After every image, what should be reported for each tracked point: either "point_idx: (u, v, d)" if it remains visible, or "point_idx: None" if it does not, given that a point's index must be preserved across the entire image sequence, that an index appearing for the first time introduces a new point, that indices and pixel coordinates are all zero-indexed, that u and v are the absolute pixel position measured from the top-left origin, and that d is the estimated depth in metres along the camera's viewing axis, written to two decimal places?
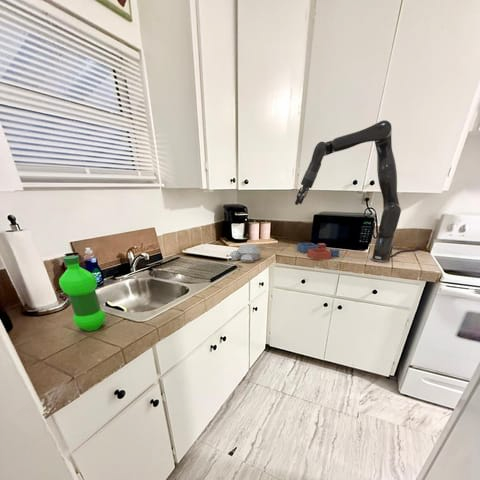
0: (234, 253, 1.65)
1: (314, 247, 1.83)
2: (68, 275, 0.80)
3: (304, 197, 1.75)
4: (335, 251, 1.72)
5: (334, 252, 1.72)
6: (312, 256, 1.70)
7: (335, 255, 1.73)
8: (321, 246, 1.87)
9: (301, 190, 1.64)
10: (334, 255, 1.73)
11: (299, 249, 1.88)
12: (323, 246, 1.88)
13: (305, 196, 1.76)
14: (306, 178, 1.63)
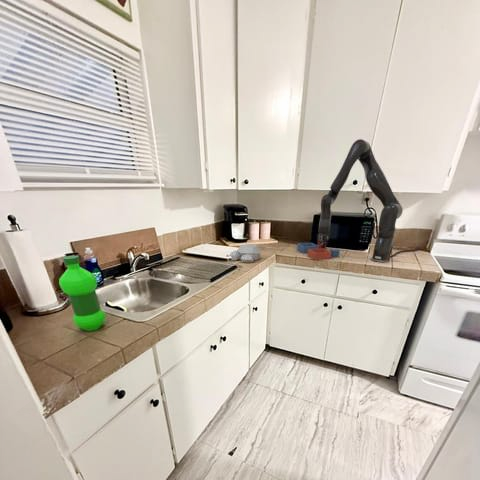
0: (234, 253, 1.65)
1: (314, 247, 1.83)
2: (68, 275, 0.80)
3: (321, 242, 1.91)
4: (335, 251, 1.72)
5: (334, 252, 1.72)
6: (312, 256, 1.70)
7: (335, 255, 1.73)
8: (321, 246, 1.87)
9: (327, 239, 1.81)
10: (334, 255, 1.73)
11: (299, 249, 1.88)
12: None
13: (320, 241, 1.92)
14: (326, 226, 1.80)
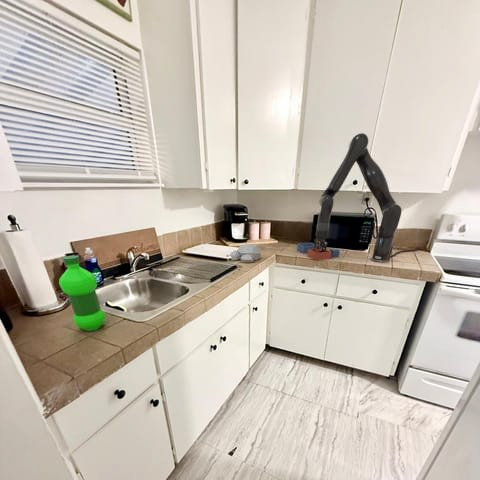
0: (234, 253, 1.65)
1: None
2: (68, 275, 0.80)
3: (319, 248, 1.74)
4: (335, 251, 1.72)
5: (334, 252, 1.72)
6: (312, 256, 1.70)
7: (335, 255, 1.73)
8: (319, 252, 1.70)
9: (325, 244, 1.63)
10: (334, 255, 1.73)
11: (299, 249, 1.88)
12: None
13: None
14: (324, 231, 1.62)
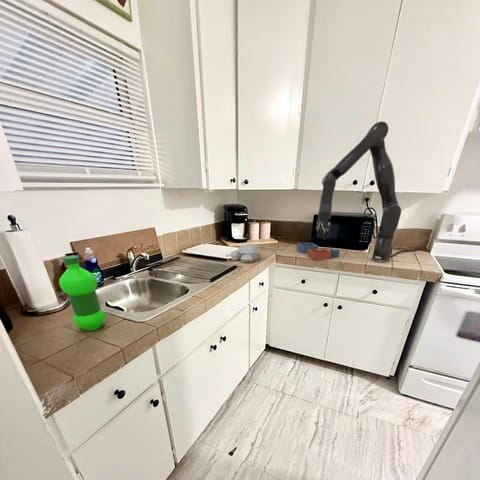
0: (234, 253, 1.65)
1: (314, 247, 1.83)
2: (68, 275, 0.80)
3: (321, 229, 1.69)
4: (335, 251, 1.72)
5: (334, 252, 1.72)
6: (312, 256, 1.70)
7: (335, 255, 1.73)
8: (319, 252, 1.70)
9: (329, 224, 1.57)
10: (334, 255, 1.73)
11: (299, 249, 1.88)
12: None
13: None
14: (326, 212, 1.57)
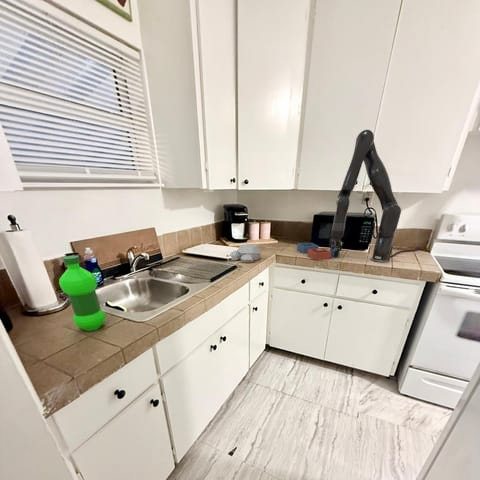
0: (234, 253, 1.65)
1: (314, 247, 1.83)
2: (68, 275, 0.80)
3: (334, 247, 1.76)
4: None
5: (334, 252, 1.72)
6: (312, 256, 1.70)
7: None
8: (319, 252, 1.70)
9: (341, 244, 1.66)
10: None
11: (299, 249, 1.88)
12: None
13: None
14: (340, 231, 1.64)
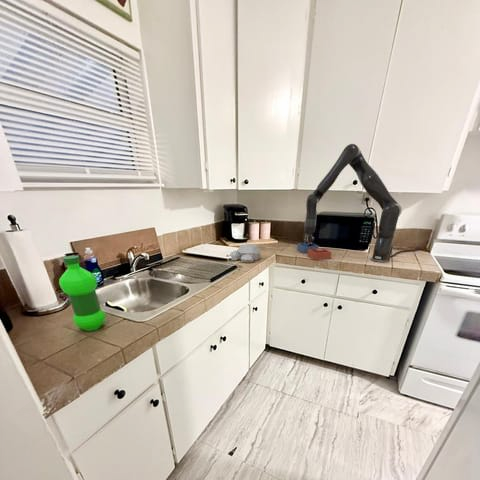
0: (234, 253, 1.65)
1: (314, 247, 1.83)
2: (68, 275, 0.80)
3: (307, 242, 1.89)
4: None
5: None
6: (312, 256, 1.70)
7: None
8: (319, 252, 1.70)
9: (313, 239, 1.79)
10: None
11: (299, 249, 1.88)
12: None
13: (306, 241, 1.90)
14: (311, 226, 1.78)
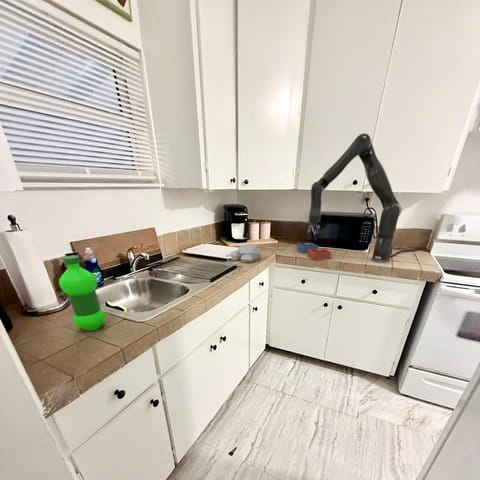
0: (234, 253, 1.65)
1: (314, 247, 1.83)
2: (68, 275, 0.80)
3: (311, 231, 1.85)
4: (308, 245, 1.85)
5: None
6: (312, 256, 1.70)
7: None
8: (319, 252, 1.70)
9: (318, 227, 1.73)
10: None
11: (299, 249, 1.88)
12: None
13: (310, 230, 1.86)
14: (316, 216, 1.72)
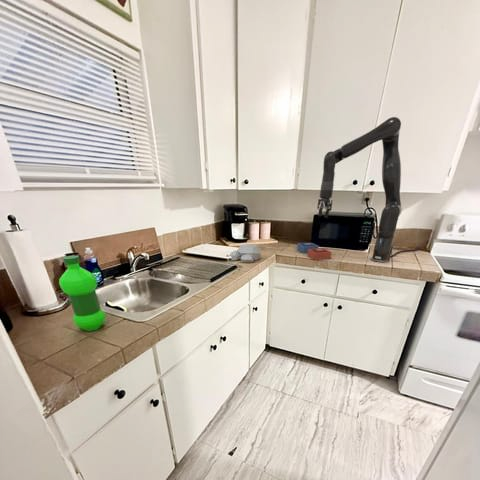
0: (234, 253, 1.65)
1: (314, 247, 1.83)
2: (68, 275, 0.80)
3: None
4: (308, 245, 1.85)
5: None
6: (312, 256, 1.70)
7: None
8: (319, 252, 1.70)
9: (330, 202, 1.60)
10: None
11: (299, 249, 1.88)
12: None
13: None
14: (328, 190, 1.60)
